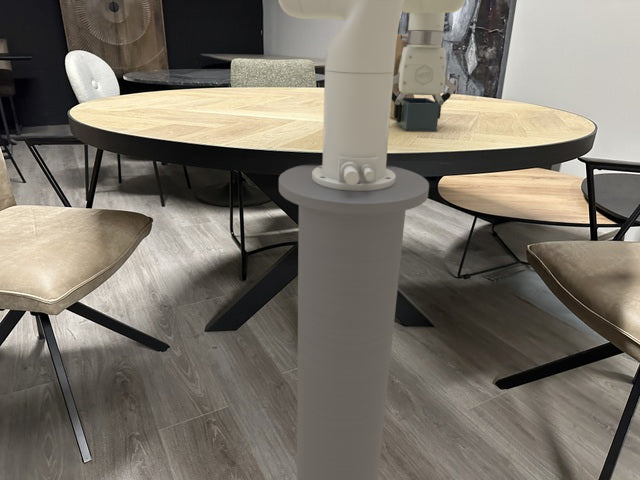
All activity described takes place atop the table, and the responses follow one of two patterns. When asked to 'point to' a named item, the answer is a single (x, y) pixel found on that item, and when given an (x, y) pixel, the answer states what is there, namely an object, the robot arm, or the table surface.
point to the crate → (419, 114)
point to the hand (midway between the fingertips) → (416, 121)
